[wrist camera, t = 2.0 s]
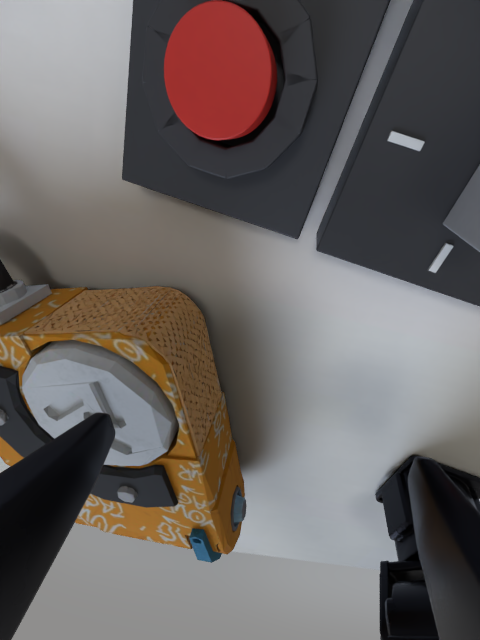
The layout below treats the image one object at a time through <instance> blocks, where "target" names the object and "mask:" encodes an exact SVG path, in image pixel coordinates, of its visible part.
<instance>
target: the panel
mask: <svg viewBox="0 0 480 640" xmlns="http://www.w3.org/2000/svg"><path fill="white" fill-rule="evenodd" d="M479 165H480V0H413V3H412V5H411V7H410V10H409V12H408V15H407V17H406V19H405V22H404V24H403V27H402V29H401V32H400V34H399V36H398V39H397V41H396V44H395V46H394V48H393V51H392V53H391V56H390V58H389V60H388V63H387V65H386V68H385V70H384V73H383V75H382V77H381V80H380V82H379V85H378V87H377V89H376V92H375V94H374V97H373V99H372V101H371V104H370V106H369V109H368V111H367V114H366V116H365V118H364V121H363V123H362V126H361V128H360V130H359V133H358V135H357V138H356V140H355V143H354V145H353V147H352V150H351V152H350V155H349V157H348V159H347V162H346V164H345V167H344V169H343V171H342V174H341V176H340V179H339V181H338V184H337V186H336V188H335V191H334V193H333V196H332V198H331V200H330V203H329V205H328V208H327V210H326V212H325V215H324V217H323V220H322V222H321V225H320V227H319V229H318V232H317V251H319V252H322V253H325V254H328V255H331V256H334V257H337V258H339V259H342V260H345V261H348V262H351V263H354V264H357V265H360V266H363V267H366V268H369V269H372V270H375V271H378V272H381V273H383V274H386V275H389V276H392V277H395V278H398V279H401V280H404V281H407V282H410V283H413V284H416V285H419V286H422V287H424V288H427V289H430V290H433V291H436V292H439V293H442V294H445V295H448V296H451V297H454V298H457V299H460V300H463V301H465V302H468V303H471V304H474V305H477V306H480V252H479V251H477V250H476V249H475V248H474V247H472V246H471V245H470V244H468V243H467V242H466V241H464V240H463V239H462V238H460V237H459V236H458V235H456V234H455V233H454V232H452V231H451V230H450V229H448V228H447V227H446V226H444V225H443V222H444V221H445V219H446V217H447V216H448V214H449V213H450V211H451V209H452V208H453V206H454V205H455V203H456V201H457V200H458V198H459V197H460V195H461V193H462V192H463V190H464V189H465V187H466V186H467V184H468V182H469V181H470V179H471V178H472V176H473V174H474V173H475V171H476V170H477V168H478V166H479Z"/></svg>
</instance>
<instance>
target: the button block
mask: <svg viewBox="0 0 480 640" xmlns="http://www.w3.org/2000/svg"><path fill="white" fill-rule="evenodd" d="M207 1H213V0H133V14H132V30H131V46H130V62H129V77H128V93H127V109H126V124H125V140H124V156H123V172H122V179H123V180H125V181H128V182H131V183H134V184H137V185H140V186H143V187H146V188H149V189H152V190H155V191H157V192H160V193H163V194H166V195H169V196H172V197H175V198H178V199H181V200H184V201H187V202H190V203H193V204H196V205H199V206H201V207H204V208H207V209H210V210H213V211H216V212H219V213H222V214H225V215H228V216H231V217H234V218H237V219H240V220H243V221H245V222H248V223H251V224H254V225H257V226H260V227H263V228H266V229H269V230H272V231H275V232H278V233H281V234H284V235H287V236H289V237H292V238H295V239H298V238H299V236H300V233H301V231H302V228H303V225H304V223H305V220H306V218H307V215H308V213H309V210H310V207H311V205H312V202H313V200H314V197H315V194H316V192H317V189H318V187H319V184H320V181H321V179H322V176H323V174H324V171H325V168H326V166H327V163H328V161H329V158H330V155H331V153H332V150H333V148H334V145H335V142H336V140H337V137H338V135H339V132H340V129H341V127H342V124H343V122H344V119H345V117H346V114H347V111H348V109H349V106H350V104H351V101H352V98H353V96H354V93H355V91H356V88H357V85H358V83H359V80H360V78H361V75H362V72H363V70H364V67H365V65H366V62H367V59H368V57H369V54H370V52H371V49H372V46H373V44H374V41H375V39H376V36H377V33H378V31H379V28H380V26H381V23H382V21H383V18H384V15H385V13H386V10H387V8H388V5H389V2H390V0H222V1H227V2H231V3H233V4H236V5H238V6H240V7H241V8H243V9H244V10H246V11H247V12H248V13H249V14H250V15H251V16H252V17H253V18H254V19H255V20H256V22H257V23H258V24H259V26H260V28H261V29H262V31H263V33H264V34H265V36H266V38H267V40H268V42H269V44H270V46H271V48H272V51H273V54H274V57H275V61H276V67H277V86H276V93H275V97H274V100H273V103H272V106H271V108H270V110H269V112H268V114H267V116H266V117H265V119H264V120H263V121H262V123H261V124H260V125H259V126H258V127H257V128H256V129H254V130H253V131H252V132H251V133H249V134H247V135H245V136H243V137H240V138H236V139H229V140H211V139H207V138H204V137H201V136H199V135H197V134H196V133H194V132H192V131H191V130H190V129H189V128H187V127H186V126H185V125H184V124H183V123H182V121H181V120H180V119H179V117H178V116H177V114H176V113H175V111H174V109H173V107H172V105H171V103H170V100H169V97H168V95H167V90H166V86H165V79H164V59H165V53H166V48H167V45H168V41H169V39H170V36H171V34H172V32H173V30H174V28H175V26H176V25H177V23H178V22H179V21H180V19H181V18H182V17H183V16H184V15H185V14H186V13H187V12H188V11H189V10H191V9H192V8H193V7H195V6H197V5H199V4H201V3H204V2H207Z"/></svg>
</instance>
